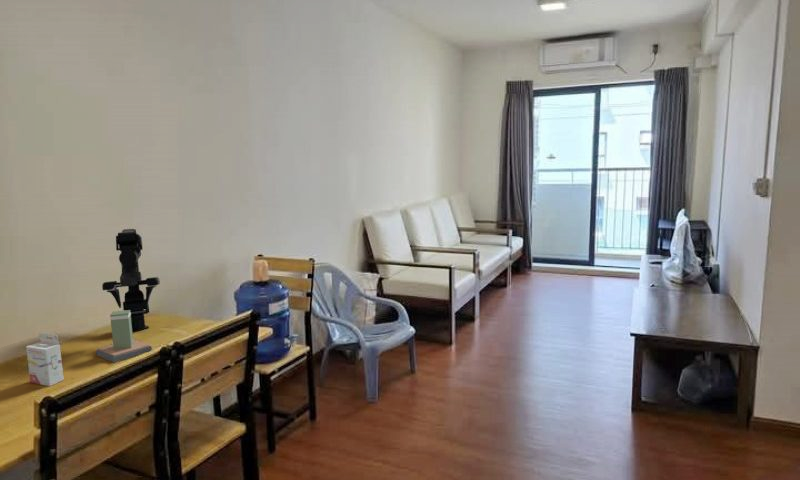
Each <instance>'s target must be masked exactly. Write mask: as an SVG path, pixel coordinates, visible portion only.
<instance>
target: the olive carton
mask: <svg viewBox="0 0 800 480" xmlns="http://www.w3.org/2000/svg"><path fill="white" fill-rule="evenodd" d="M109 318H110V325H111V334H112V335H111V337H112V344H113V347H114V350H117V349H126V348H132V346H133V339H134V336H133V331H132V324H131V312H130V310H125V311H124V310H116V311H112V312H111V313H110V316H109Z"/></svg>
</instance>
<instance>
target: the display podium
mask: <svg viewBox="0 0 800 480" xmlns="http://www.w3.org/2000/svg"><path fill="white" fill-rule="evenodd" d="M152 348H153V347H152V345H150V344H147V343H144V342H141V341H140V340H136V339H134V338H133V346H132V348H126V349H117V350H114V347H113V343H112V344H110V345H107V346H106V345H105V346H102V347H98V348H97V349H95V354H96V356H98V357H101V358H103V359H105V360H107V361H110V362H112V363H114V364H115V363H117V362H121V361H125V360H127V359H132V358H135V357H137V355H138V356H140V355H139V354H141V355H143V354H142V353H145V352H148V351H151V350H152V351H153V349H152ZM152 351H151V352H152ZM148 353H149V352H148ZM145 354H146V353H145Z"/></svg>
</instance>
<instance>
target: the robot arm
mask: <svg viewBox="0 0 800 480" xmlns="http://www.w3.org/2000/svg"><path fill="white" fill-rule="evenodd" d="M142 239H143V238H142V236H141V235H140V234H139V233H137V229H134V228H126V229H122V230H121V232H117V235H115V249H116V251H120V252H121V253H120V254H119V255H118V260H119V263H120V264H121V274H120V277H119V281H120V282H119V281H117V280H113V281H105V282H103V283H102V286H101V287H102V288H101V289H102V291H106V292H107V293H110V294H111V295H112V297H113V298H114V300H115V302H116V304H117V306H118V308H119V309H121V308H122V309H123V310H122V311H125V310H130V312H131V324H132V333H133V332H139V331H142V330H145V329H149V328H150V326H149V325H146V321H145V320H146V319H145V315H147V314H148V313H150V305H149V303H150V299H151V298H150V297H151V294H152V292H153V290H154V289H155V288H156V287H157V286H158V285H160V283H161V282H160V281H161V280H160V278H159V277H158V276H156V277H155V276H153V277H147V278H146V279H142V278H143V277H142V273H141V271H140V268H139V265H140V264H139V259H140V257H141V256H142V251H143V240H142ZM144 285H146V287H145V294H144V292H143V291H142V290H140V286H144ZM123 287H128V288H127V289H128V290H127V291H126V292H125V294H124V296H123V297H124V301H122V302H121V296H120V290H119V288H123Z"/></svg>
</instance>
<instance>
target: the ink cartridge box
mask: <svg viewBox="0 0 800 480" xmlns="http://www.w3.org/2000/svg"><path fill="white" fill-rule="evenodd" d="M38 337H39V339H40V340H39V342H37V343H36V342H35V343H33V344H28V345H27V346H26V347H25V348H26V349H25V350H26V356H27V365H28V373H29V381H30V383H32V384H37V385H41V386H47V387H48V386H49V387H51V386H53V385H55V384H58V383H60V382H62V381H64V378H65V377H64V369H63V361H62V354H61V345H60V342H59V337H58V335H57V334H52V333H47V332H45V333H44V332H39V333H38ZM48 337H49V338H48Z"/></svg>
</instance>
